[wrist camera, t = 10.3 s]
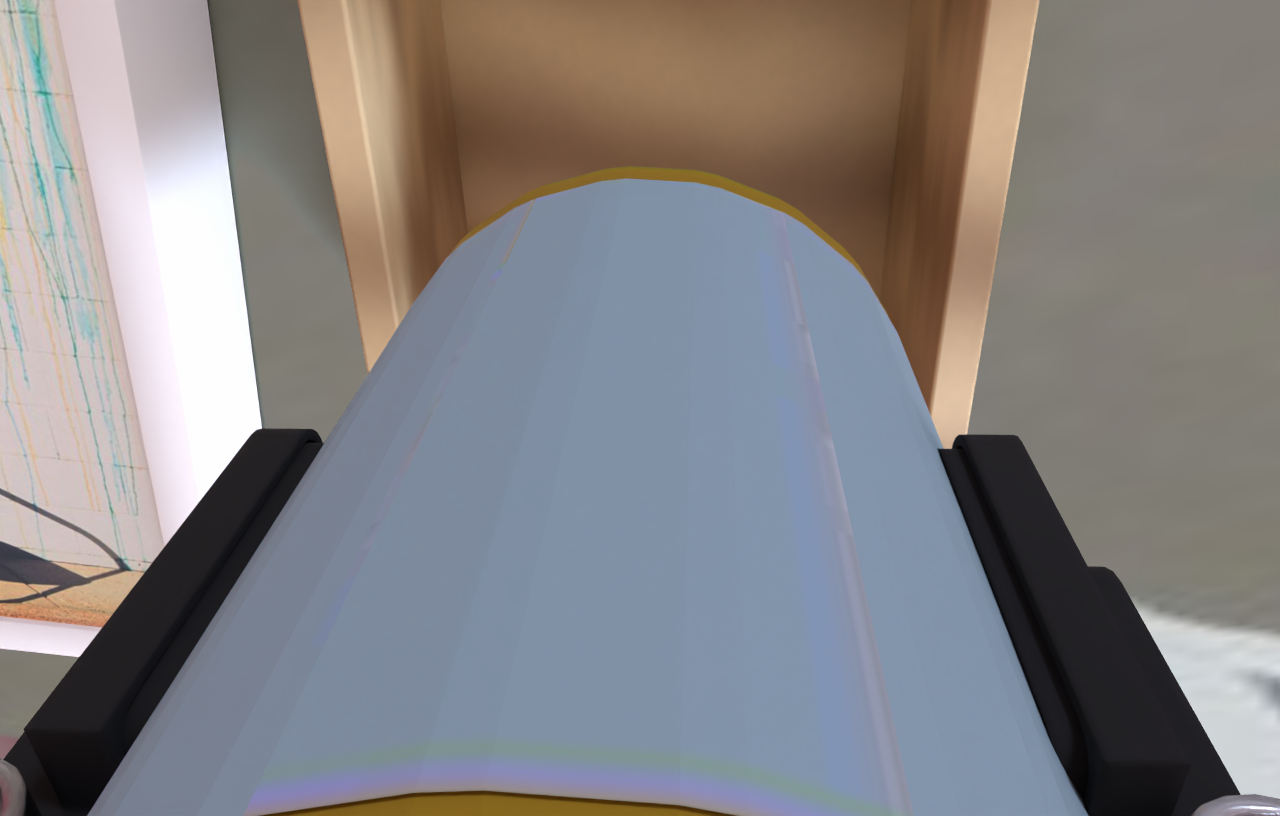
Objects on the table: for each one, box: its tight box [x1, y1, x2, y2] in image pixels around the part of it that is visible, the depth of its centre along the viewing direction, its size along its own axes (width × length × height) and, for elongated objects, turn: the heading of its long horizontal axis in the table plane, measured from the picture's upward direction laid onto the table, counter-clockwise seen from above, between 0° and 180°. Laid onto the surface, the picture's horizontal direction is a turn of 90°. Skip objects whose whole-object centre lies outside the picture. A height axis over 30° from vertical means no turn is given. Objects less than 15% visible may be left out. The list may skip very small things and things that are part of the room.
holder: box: [297, 0, 1040, 449], centre depth 20 cm, size 12×12×7 cm
